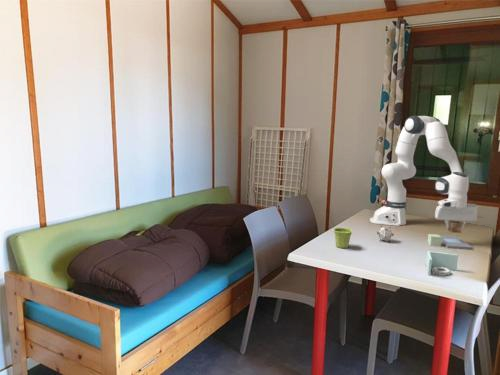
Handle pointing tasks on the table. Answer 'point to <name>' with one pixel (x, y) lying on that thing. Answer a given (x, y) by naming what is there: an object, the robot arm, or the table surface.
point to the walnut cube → (455, 226)
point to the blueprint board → (454, 242)
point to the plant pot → (342, 237)
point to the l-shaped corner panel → (441, 262)
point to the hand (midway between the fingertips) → (454, 228)
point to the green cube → (434, 240)
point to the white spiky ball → (385, 233)
